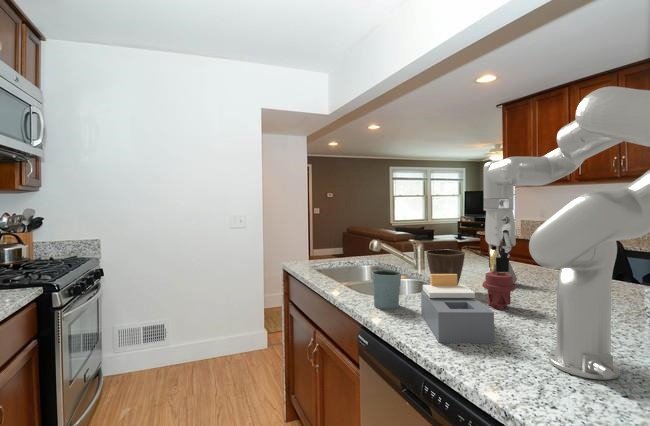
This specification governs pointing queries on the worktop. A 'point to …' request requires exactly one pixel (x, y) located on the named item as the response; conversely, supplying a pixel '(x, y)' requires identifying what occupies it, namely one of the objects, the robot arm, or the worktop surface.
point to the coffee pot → (490, 271)
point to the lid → (447, 287)
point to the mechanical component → (499, 289)
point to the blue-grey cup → (386, 289)
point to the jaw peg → (493, 260)
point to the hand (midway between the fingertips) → (498, 269)
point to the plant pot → (445, 262)
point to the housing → (458, 319)
